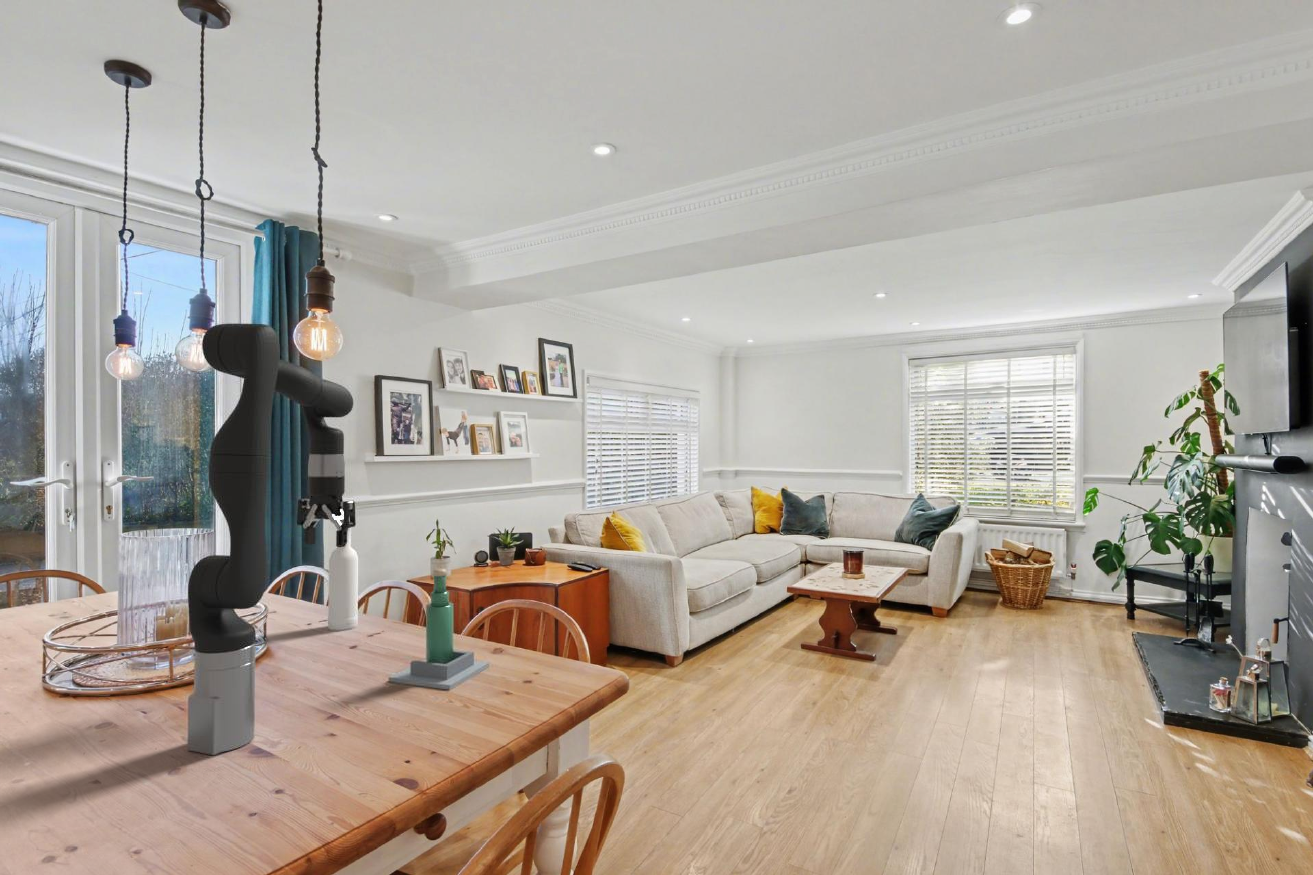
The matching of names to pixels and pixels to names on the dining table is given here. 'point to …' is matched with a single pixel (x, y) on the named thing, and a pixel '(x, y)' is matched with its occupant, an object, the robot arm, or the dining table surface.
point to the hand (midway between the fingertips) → (325, 545)
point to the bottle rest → (441, 671)
